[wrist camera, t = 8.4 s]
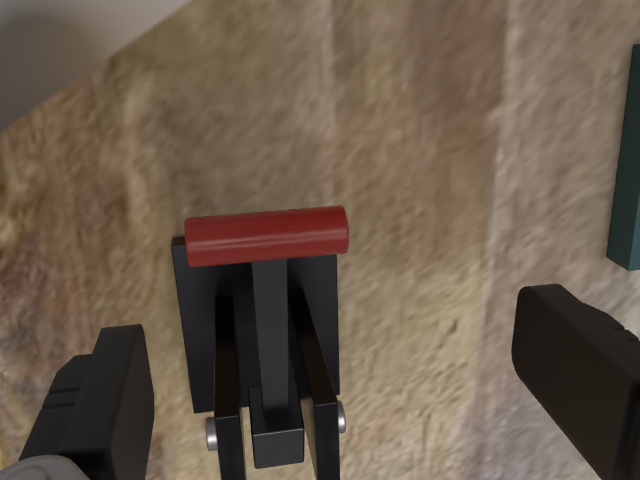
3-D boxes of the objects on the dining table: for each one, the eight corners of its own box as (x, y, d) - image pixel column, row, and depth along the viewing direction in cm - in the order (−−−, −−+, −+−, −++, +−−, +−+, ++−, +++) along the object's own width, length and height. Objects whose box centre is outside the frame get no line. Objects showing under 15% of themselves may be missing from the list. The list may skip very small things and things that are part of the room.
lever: (184, 200, 19) (183, 249, 17) (338, 188, 19) (353, 234, 18) (220, 426, 27) (222, 474, 25) (326, 412, 28) (335, 458, 26)
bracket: (172, 237, 32) (149, 352, 21) (332, 223, 34) (387, 325, 23) (194, 401, 36) (184, 567, 26) (336, 384, 38) (384, 535, 27)
